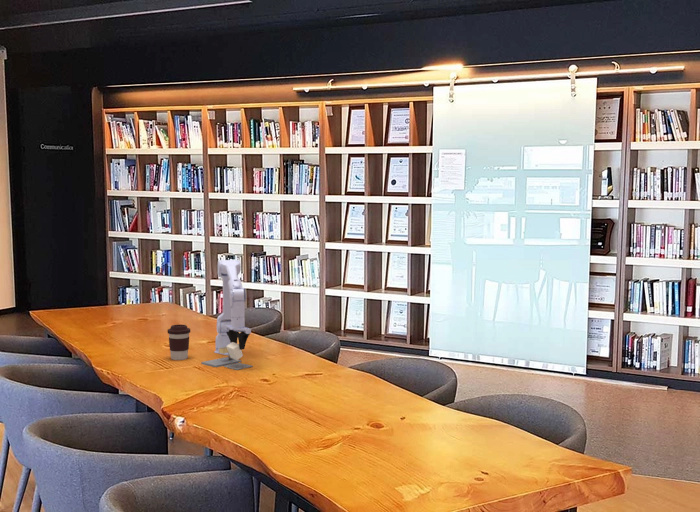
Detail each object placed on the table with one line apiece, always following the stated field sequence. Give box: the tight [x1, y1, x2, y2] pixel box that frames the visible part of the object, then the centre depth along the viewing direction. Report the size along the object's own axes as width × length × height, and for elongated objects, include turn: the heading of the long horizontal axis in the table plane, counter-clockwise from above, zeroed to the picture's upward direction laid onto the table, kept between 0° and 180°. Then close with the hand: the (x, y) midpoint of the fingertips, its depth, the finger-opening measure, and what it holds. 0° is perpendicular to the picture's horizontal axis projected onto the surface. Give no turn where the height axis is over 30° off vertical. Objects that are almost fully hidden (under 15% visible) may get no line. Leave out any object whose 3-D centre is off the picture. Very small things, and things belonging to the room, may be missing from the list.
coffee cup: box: [167, 324, 191, 361], centre depth 342 cm, size 10×10×15 cm
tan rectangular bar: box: [218, 347, 228, 355], centre depth 337 cm, size 2×11×2 cm, turn 143°
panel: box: [201, 352, 242, 368], centre depth 333 cm, size 10×14×5 cm
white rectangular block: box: [226, 342, 244, 360], centre depth 326 cm, size 4×6×4 cm
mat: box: [223, 362, 254, 371], centre depth 328 cm, size 9×9×1 cm
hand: (238, 348), depth 327 cm, fingers closed on white rectangular block, 4 cm apart
